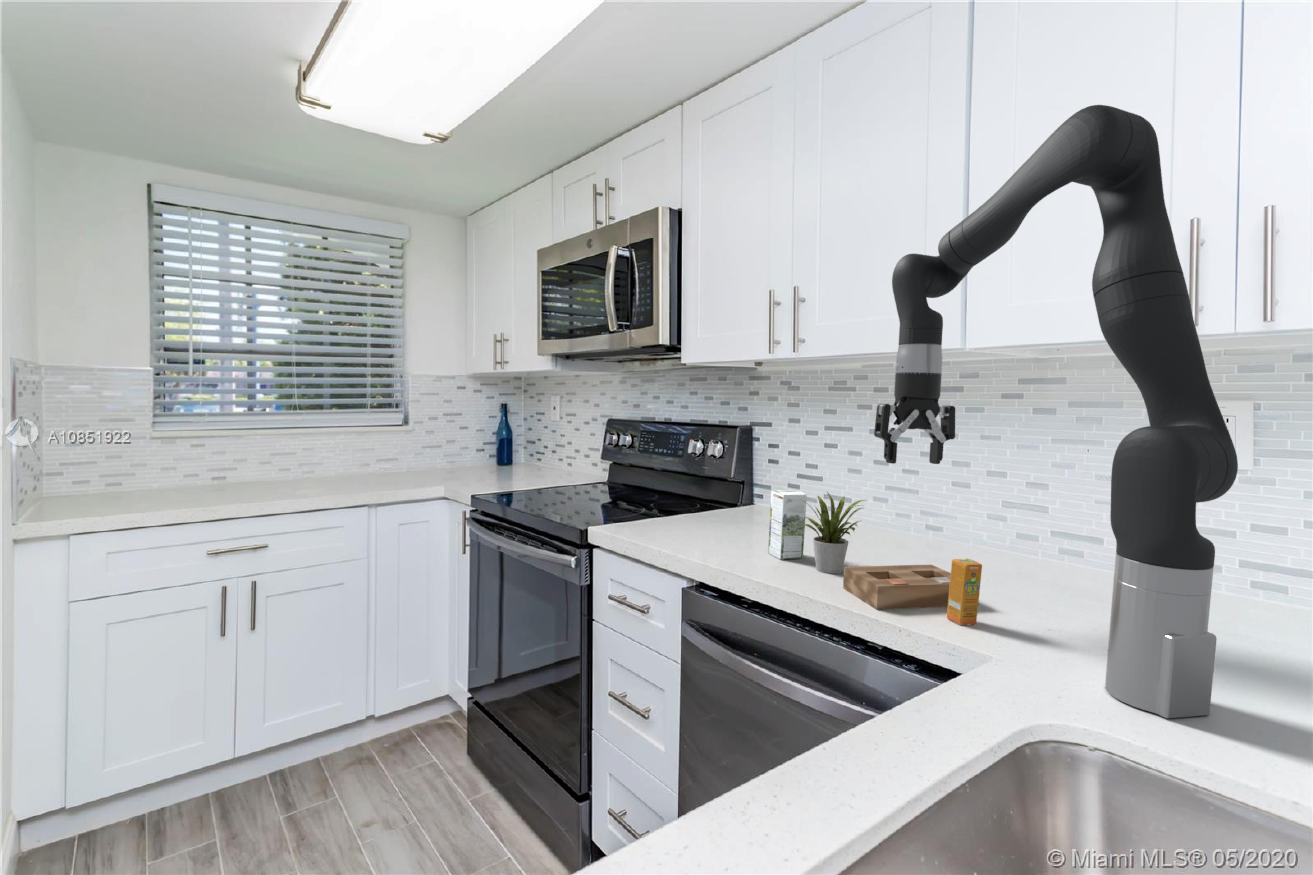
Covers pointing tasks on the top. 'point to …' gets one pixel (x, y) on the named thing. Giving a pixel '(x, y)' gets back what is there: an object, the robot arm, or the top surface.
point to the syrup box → (787, 524)
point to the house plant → (831, 536)
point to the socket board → (899, 586)
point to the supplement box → (964, 591)
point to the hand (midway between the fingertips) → (913, 463)
